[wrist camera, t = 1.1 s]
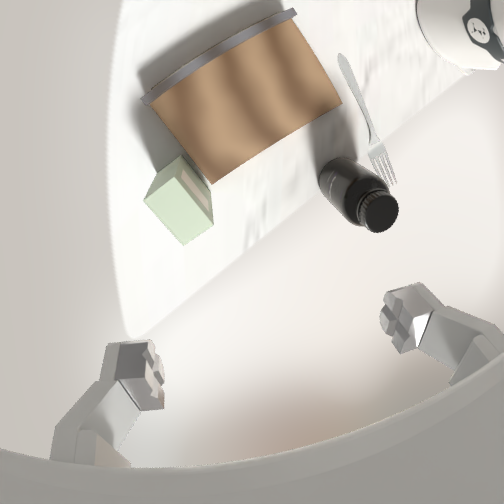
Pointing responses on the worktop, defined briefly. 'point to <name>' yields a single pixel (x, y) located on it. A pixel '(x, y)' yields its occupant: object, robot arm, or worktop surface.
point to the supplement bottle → (358, 194)
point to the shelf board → (244, 95)
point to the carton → (180, 201)
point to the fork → (374, 139)
